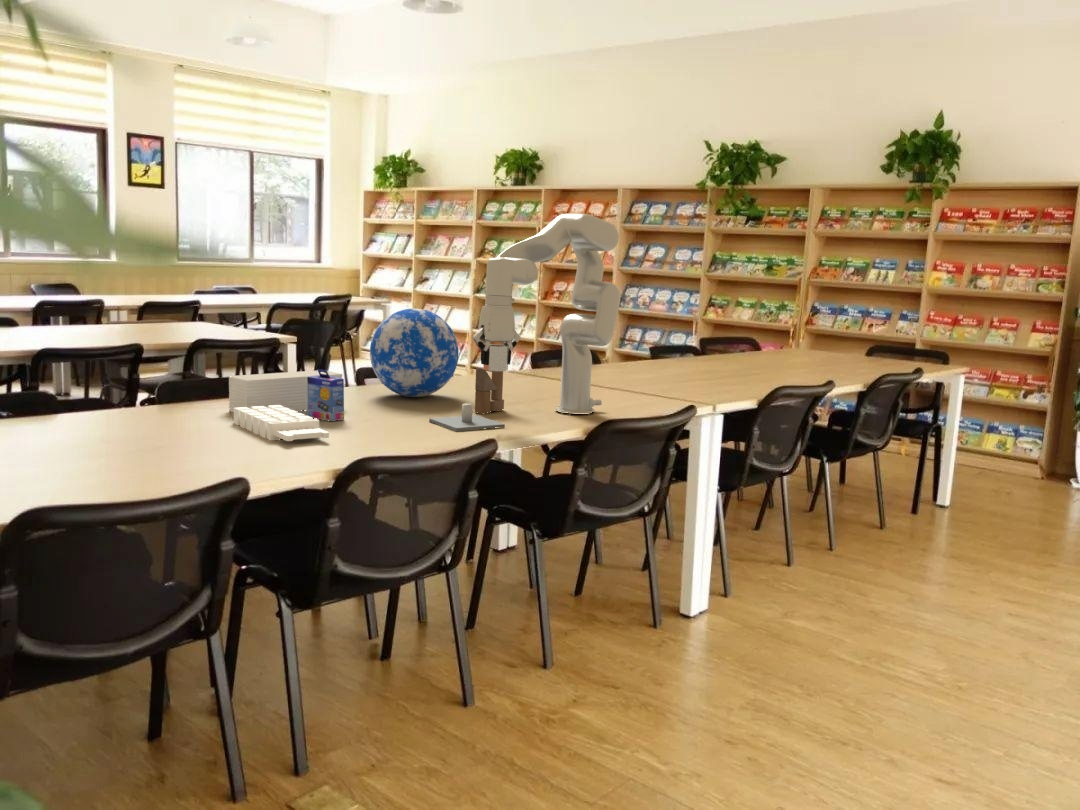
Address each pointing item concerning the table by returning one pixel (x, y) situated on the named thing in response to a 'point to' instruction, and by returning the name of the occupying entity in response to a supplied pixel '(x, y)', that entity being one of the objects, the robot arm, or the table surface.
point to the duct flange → (466, 421)
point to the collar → (497, 358)
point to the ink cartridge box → (325, 397)
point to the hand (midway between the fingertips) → (495, 363)
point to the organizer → (278, 423)
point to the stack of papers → (272, 389)
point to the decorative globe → (414, 352)
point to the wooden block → (488, 391)
